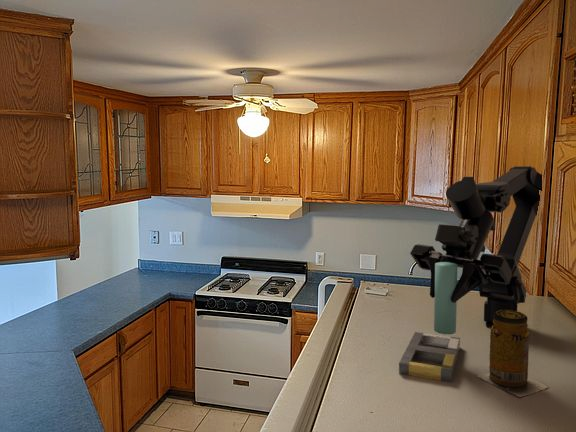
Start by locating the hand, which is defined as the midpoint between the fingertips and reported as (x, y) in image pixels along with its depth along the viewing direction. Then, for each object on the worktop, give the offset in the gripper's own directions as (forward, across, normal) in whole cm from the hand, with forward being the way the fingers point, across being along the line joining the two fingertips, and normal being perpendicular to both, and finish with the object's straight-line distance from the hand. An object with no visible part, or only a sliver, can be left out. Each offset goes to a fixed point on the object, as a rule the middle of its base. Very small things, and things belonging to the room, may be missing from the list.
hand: (441, 299), depth 87 cm
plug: (+4, 0, +6) cm, 7 cm away
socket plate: (+9, -2, +8) cm, 12 cm away
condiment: (+8, +13, +10) cm, 18 cm away
